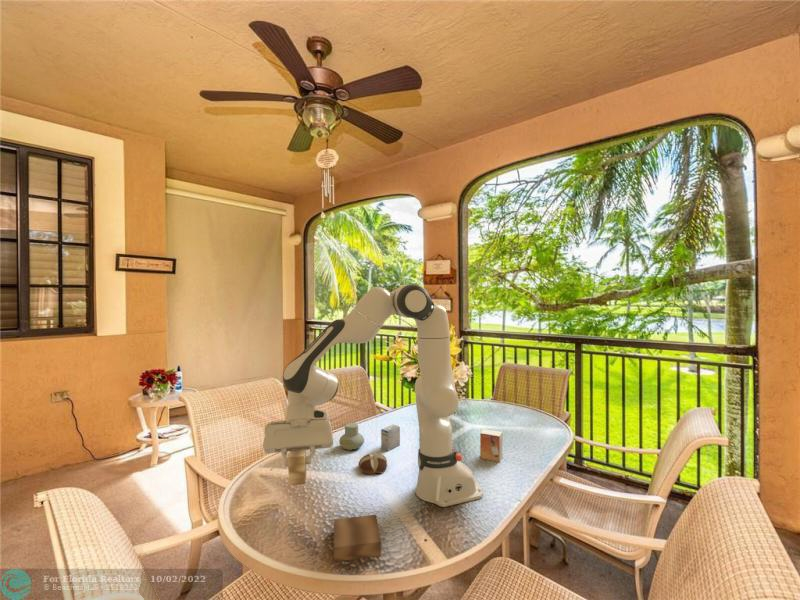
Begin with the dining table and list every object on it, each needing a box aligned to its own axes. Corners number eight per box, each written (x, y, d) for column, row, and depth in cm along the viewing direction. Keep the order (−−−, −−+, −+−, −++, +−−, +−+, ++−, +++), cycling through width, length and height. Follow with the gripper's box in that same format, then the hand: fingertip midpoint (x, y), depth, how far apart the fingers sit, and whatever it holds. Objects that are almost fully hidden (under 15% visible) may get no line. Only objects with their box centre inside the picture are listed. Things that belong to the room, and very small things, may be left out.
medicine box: (392, 442, 168) (392, 424, 167) (400, 445, 165) (400, 426, 165) (381, 448, 161) (380, 429, 161) (388, 451, 159) (388, 431, 159)
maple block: (306, 476, 108) (305, 449, 108) (305, 484, 103) (304, 455, 103) (290, 478, 107) (290, 450, 107) (288, 485, 103) (288, 457, 103)
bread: (387, 461, 149) (387, 449, 149) (387, 475, 138) (386, 461, 138) (359, 462, 149) (359, 450, 149) (357, 476, 138) (357, 462, 138)
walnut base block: (376, 528, 107) (376, 514, 107) (381, 557, 95) (380, 541, 95) (334, 533, 105) (334, 519, 105) (333, 563, 93) (333, 547, 93)
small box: (480, 458, 150) (479, 433, 150) (483, 453, 155) (483, 428, 155) (499, 462, 146) (499, 436, 146) (502, 457, 151) (502, 431, 151)
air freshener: (336, 449, 161) (335, 426, 161) (345, 442, 169) (344, 420, 169) (359, 452, 158) (358, 429, 157) (366, 445, 165) (366, 423, 165)
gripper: (263, 417, 111) (257, 464, 102) (332, 412, 115) (332, 456, 105) (267, 426, 116) (261, 472, 106) (333, 421, 119) (333, 465, 109)
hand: (297, 464), depth 106 cm, fingers closed on maple block, 4 cm apart
